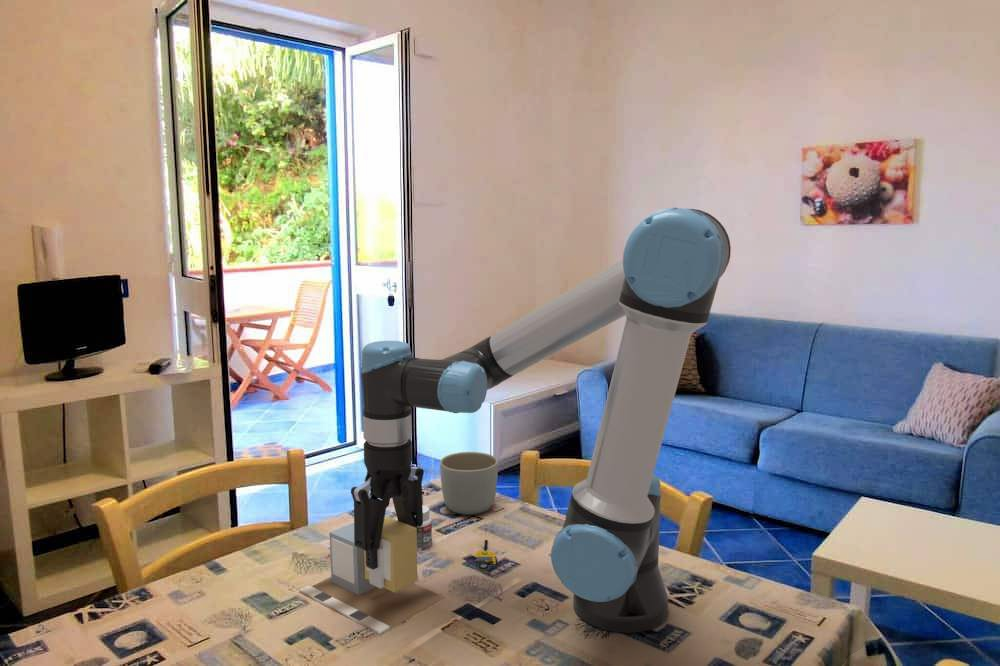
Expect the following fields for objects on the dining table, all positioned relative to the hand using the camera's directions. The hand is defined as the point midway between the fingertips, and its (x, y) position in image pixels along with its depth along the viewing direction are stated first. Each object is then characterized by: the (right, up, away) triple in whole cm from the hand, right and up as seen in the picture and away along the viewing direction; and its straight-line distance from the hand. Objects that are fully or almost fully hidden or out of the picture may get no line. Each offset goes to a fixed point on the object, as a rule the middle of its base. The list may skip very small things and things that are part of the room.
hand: (390, 577), depth 119 cm
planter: (+11, +1, +40) cm, 42 cm away
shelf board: (-4, -5, +2) cm, 6 cm away
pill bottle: (+2, -2, +21) cm, 21 cm away
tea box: (0, 0, 0) cm, 0 cm away
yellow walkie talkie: (+15, -3, +17) cm, 23 cm away
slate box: (-7, -3, +6) cm, 10 cm away
